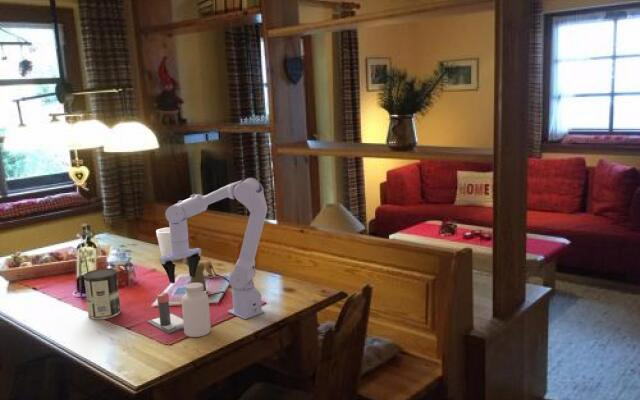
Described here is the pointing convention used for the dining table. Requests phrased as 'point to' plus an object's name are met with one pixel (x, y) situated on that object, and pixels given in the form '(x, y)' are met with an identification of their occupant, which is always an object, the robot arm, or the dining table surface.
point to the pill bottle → (195, 311)
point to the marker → (164, 309)
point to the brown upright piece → (199, 276)
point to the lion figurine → (206, 264)
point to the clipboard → (173, 327)
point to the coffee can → (102, 293)
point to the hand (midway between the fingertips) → (182, 279)
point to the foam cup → (164, 240)
